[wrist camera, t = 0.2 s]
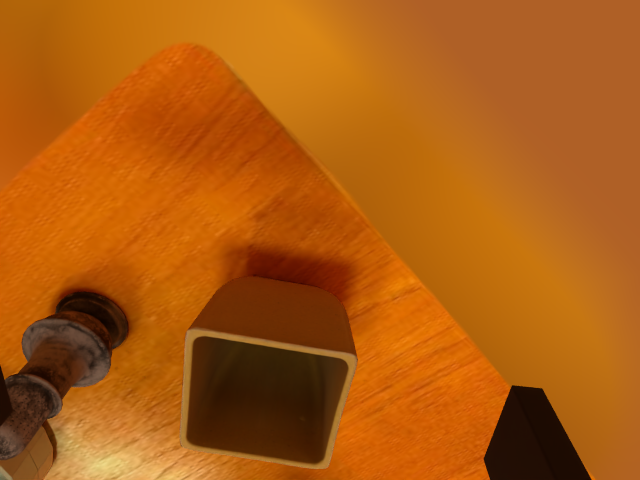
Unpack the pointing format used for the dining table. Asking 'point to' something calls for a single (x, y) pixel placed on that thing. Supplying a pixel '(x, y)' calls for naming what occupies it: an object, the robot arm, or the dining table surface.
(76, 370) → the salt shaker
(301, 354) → the flower pot
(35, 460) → the bowl
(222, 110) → the dining table surface
